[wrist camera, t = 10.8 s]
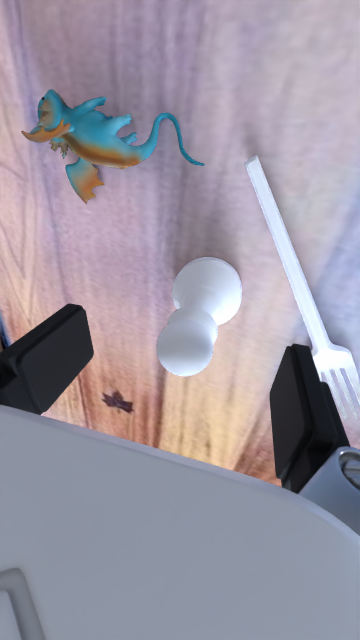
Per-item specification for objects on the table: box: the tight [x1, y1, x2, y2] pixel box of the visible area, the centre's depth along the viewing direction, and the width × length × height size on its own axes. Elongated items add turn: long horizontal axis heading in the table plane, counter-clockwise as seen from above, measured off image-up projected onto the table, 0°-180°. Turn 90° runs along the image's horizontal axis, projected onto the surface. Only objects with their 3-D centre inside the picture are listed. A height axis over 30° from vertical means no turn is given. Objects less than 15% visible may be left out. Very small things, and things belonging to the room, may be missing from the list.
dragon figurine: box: [21, 89, 204, 204], centre depth 14 cm, size 6×7×8 cm
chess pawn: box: [156, 257, 242, 376], centre depth 14 cm, size 5×5×9 cm
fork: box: [245, 155, 360, 420], centre depth 16 cm, size 3×20×2 cm, turn 30°
